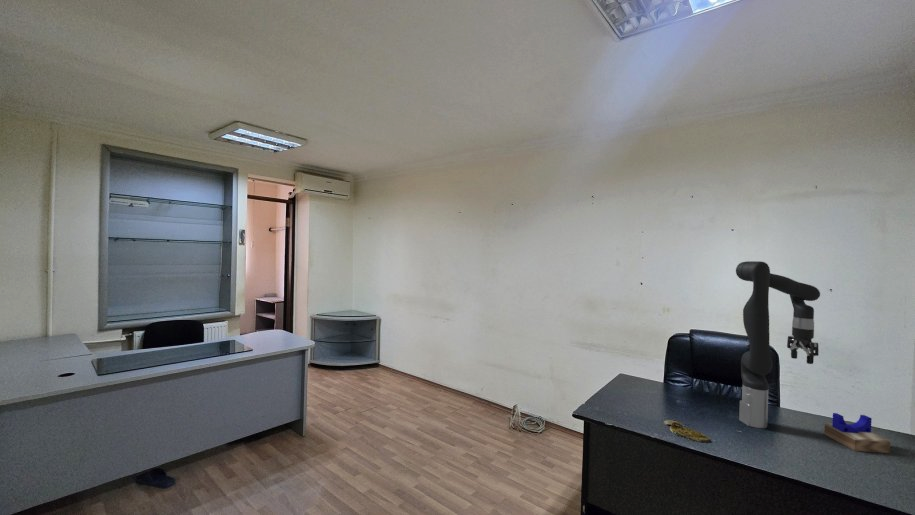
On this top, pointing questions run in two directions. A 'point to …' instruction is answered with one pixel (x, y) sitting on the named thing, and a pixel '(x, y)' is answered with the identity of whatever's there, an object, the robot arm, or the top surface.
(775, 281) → the robot arm
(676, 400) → the top surface
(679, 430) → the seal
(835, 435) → the stand
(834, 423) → the cable clip
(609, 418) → the top surface
